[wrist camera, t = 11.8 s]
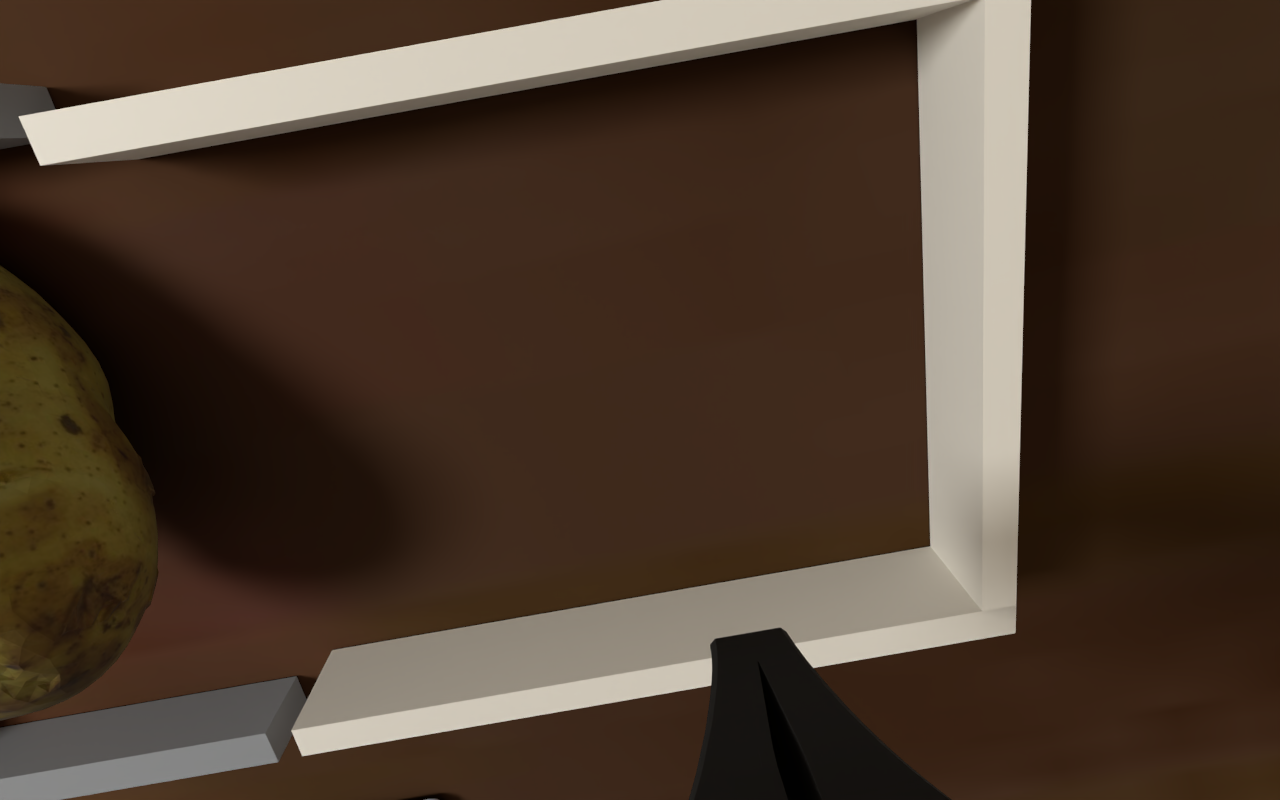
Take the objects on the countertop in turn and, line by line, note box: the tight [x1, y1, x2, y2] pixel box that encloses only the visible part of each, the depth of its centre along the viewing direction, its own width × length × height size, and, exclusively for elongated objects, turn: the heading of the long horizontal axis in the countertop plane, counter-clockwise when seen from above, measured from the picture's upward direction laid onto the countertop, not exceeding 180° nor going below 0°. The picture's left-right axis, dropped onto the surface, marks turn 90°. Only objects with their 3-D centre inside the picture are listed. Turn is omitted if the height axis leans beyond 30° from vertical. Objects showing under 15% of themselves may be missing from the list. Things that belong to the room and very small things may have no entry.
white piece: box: [18, 0, 1031, 756], centre depth 20 cm, size 18×22×4 cm
